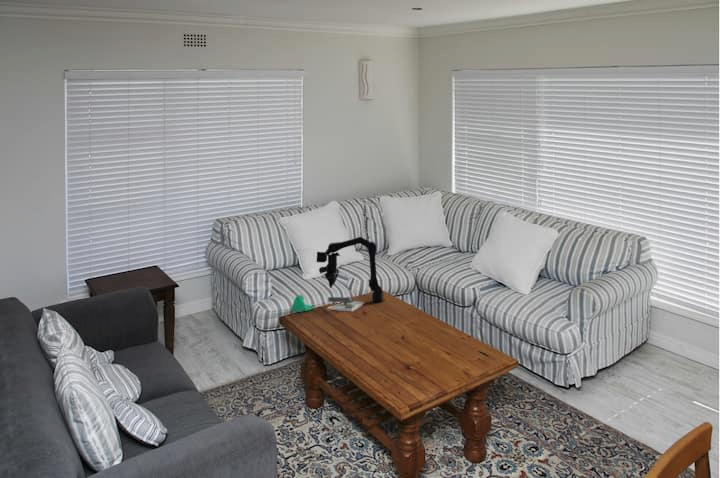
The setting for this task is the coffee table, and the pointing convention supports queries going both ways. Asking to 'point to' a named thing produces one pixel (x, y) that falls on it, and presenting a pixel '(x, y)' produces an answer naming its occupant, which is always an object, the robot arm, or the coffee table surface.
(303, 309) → the green irregular lump
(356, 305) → the levelling board
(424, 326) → the coffee table surface
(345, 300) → the footscrew knob
